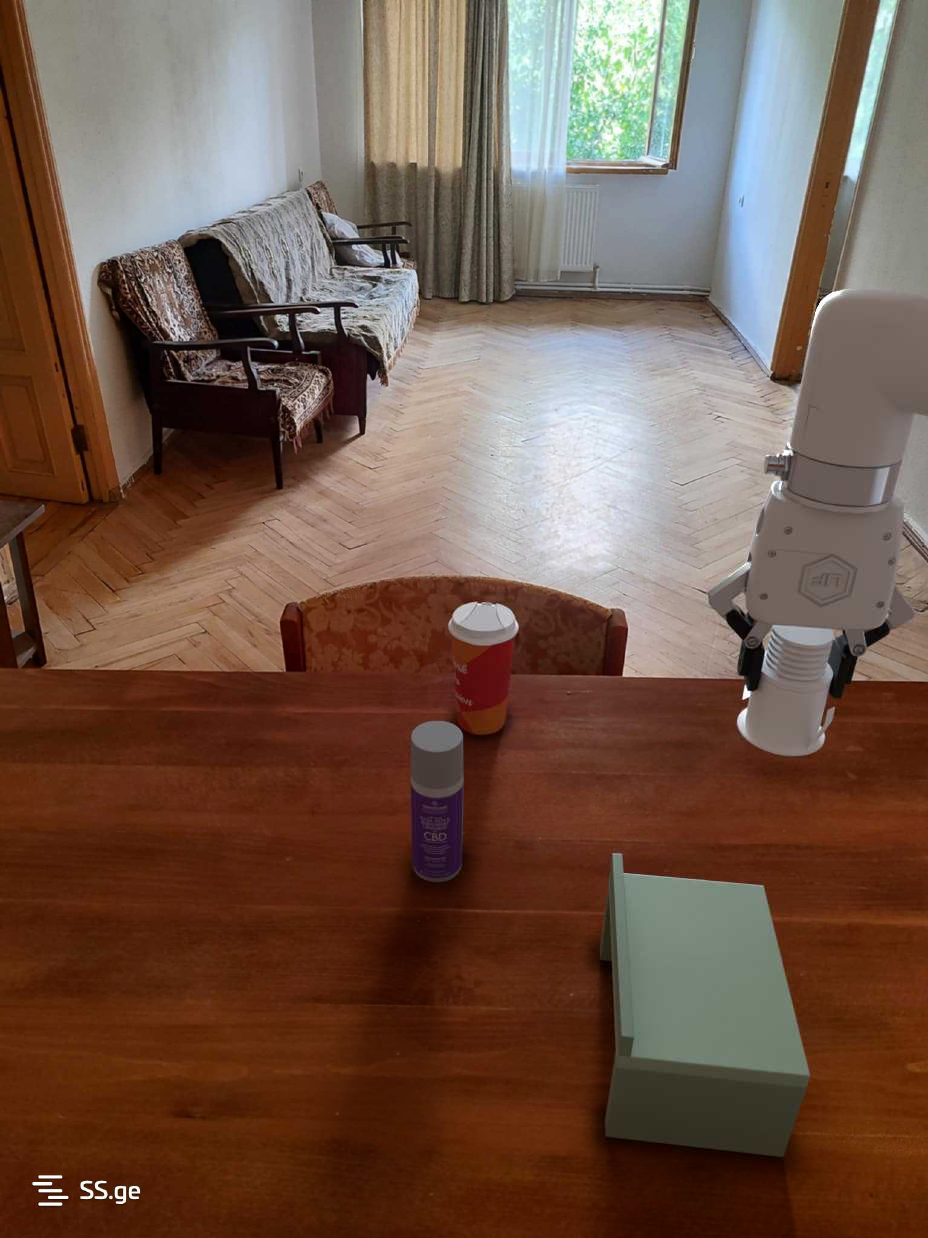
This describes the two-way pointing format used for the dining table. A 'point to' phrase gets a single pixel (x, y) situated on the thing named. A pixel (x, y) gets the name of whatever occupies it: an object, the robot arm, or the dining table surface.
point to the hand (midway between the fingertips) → (790, 683)
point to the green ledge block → (699, 1016)
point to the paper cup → (482, 664)
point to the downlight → (790, 693)
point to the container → (437, 800)
